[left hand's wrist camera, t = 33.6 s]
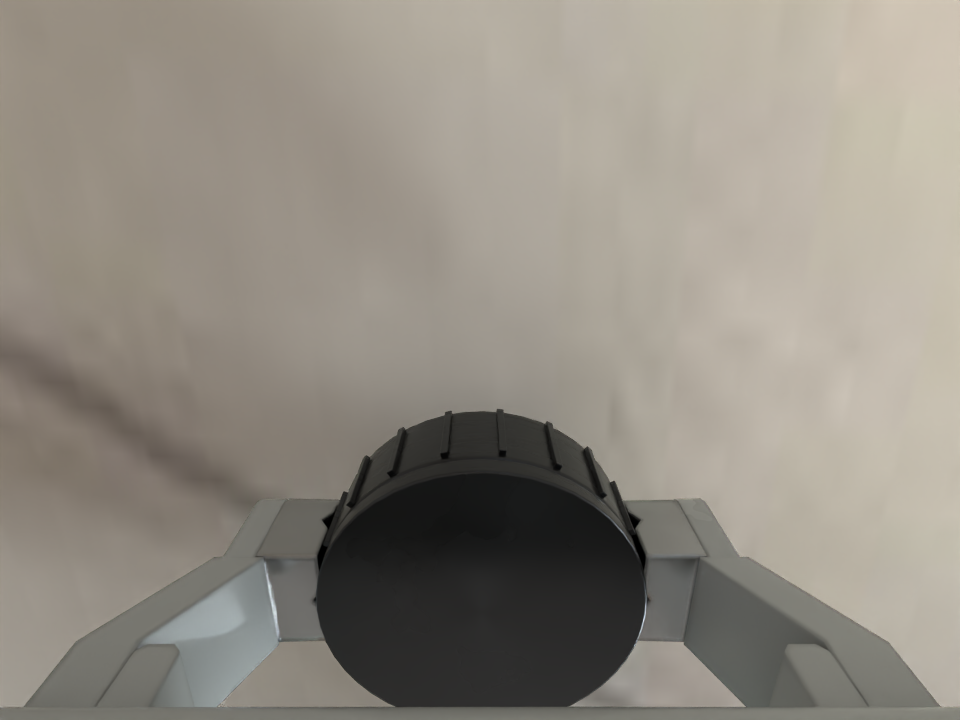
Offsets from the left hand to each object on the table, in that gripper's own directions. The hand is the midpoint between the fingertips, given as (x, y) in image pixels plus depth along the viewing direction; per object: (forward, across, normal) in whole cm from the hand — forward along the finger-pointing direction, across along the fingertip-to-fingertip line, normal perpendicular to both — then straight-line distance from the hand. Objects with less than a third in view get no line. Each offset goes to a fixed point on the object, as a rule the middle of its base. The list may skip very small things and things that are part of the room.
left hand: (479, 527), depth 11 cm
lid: (-2, 0, 0) cm, 2 cm away
